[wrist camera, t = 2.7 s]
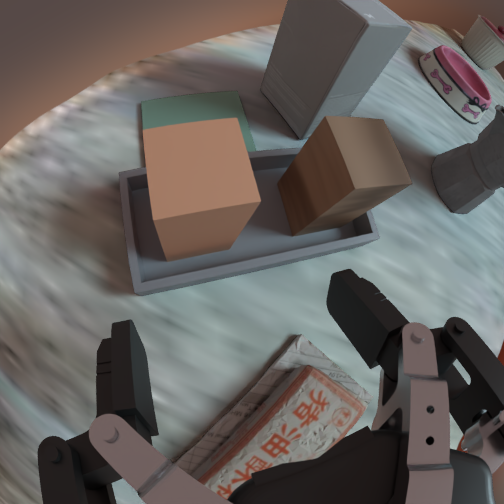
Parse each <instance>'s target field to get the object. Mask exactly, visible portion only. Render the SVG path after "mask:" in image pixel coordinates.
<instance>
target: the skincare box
mask: <svg viewBox="0 0 504 504" xmlns="http://www.w3.org/2000/svg"><path fill="white" fill-rule="evenodd" d="M411 30H412V27H411V26H410V25H409V24H407V23H406V22H405V21H404V20H403V19H401V18H400V17H399V16H398V15H397V14H395V13H394V12H393V11H391V10H390V9H389V8H388V7H386V6H385V5H384V4H382V3H381V2H380V1H378V0H288V2H287V5H286V8H285V11H284V14H283V17H282V20H281V24H280V27H279V30H278V33H277V36H276V39H275V42H274V46H273V49H272V52H271V55H270V59H269V62H268V65H267V69H266V72H265V75H264V79H263V82H262V85H261V88H260V90H261V91H262V92H263V93H264V95H265V96H266V97H267V98H268V99H269V101H270V102H271V103H272V104H273V105H274V107H275V108H276V109H277V110H278V112H279V113H280V114H281V115H282V117H283V118H284V119H285V120H286V122H287V123H288V124H289V125H290V127H291V128H292V129H293V131H294V132H295V133H296V135H297V136H298V137H299V139H300V140H303V139H306V138H308V137H310V136H311V135H312V133H313V132H314V130H315V129H316V128H317V126H318V125H319V124H320V122H321V121H322V119H323V118H324V117H325V116H343V117H349V116H350V115H351V114H352V112H353V111H354V109H355V108H356V107H357V105H358V104H359V102H360V101H361V100H362V98H363V97H364V96H365V94H366V93H367V91H368V90H369V89H370V87H371V86H372V84H373V83H374V82H375V80H376V79H377V77H378V76H379V75H380V73H381V72H382V70H383V69H384V68H385V66H386V65H387V64H388V62H389V61H390V59H391V58H392V57H393V55H394V54H395V52H396V51H397V50H398V48H399V47H400V45H401V44H402V43H403V41H404V40H405V38H406V37H407V36H408V34H409V33H410V31H411Z"/></svg>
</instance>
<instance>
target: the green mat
mask: <svg viewBox="0 0 504 504" xmlns="http://www.w3.org/2000/svg"><path fill="white" fill-rule="evenodd" d="M141 107H142V123H143V130H145V129H150V128H156V127H162V126H168V125H175V124H182V123H189V122H197V121H206V120H215V119H226V118H237V119H238V122H239V125H240V129H241V132H242V136H243V139H244V142H245V146H246V149H247V152H252V151H256V148H255V145H254V142H253V138H252V135H251V132H250V129H249V126H248V122H247V119H246V116H245V113H244V110H243V107H242V104H241V101H240V97H239V94H238V91H225V92H211V93H200V94H190V95H182V96H174V97H167V98H160V99H154V100H148V101H142V102H141Z"/></svg>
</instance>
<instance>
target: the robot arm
mask: <svg viewBox="0 0 504 504" xmlns="http://www.w3.org/2000/svg"><path fill="white" fill-rule="evenodd" d="M327 308H328V311H329V313H330V315H331V316H332V317H333V319H334V320H335V321H336V323H337V324H338V325H339V327H340V328H341V329H342V331H343V332H344V333H345V335H346V336H347V338H348V339H349V340H350V342H351V343H352V344H353V346H354V347H355V348H356V350H357V351H358V353H359V354H360V355H361V357H362V358H363V360H364V361H365V362H366V364H367V365H368V366H369V368H370V369H372V368H374V367H376V366H378V365H380V366H381V367H382V369H381V372H380V386H379V399H378V409H377V413H376V416H375V418H374V421H373V424H372V428H371V430H370V429H369V427H368V426H366V427H364V428H362V429H360V430H359V431H357V432H355V433H353V434H351V435H349V436H347V437H345V438H343V439H341V440H340V441H339V442H338V443H336V444H335V445H334V446H333V447H331V448H330V449H329V450H328V451H326V452H325V453H324V454H322V455H321V456H320V457H318V458H316V459H310V460H304V461H297V462H290V463H282V464H279V465H276V466H273V467H270V468H267V469H264V470H261V471H257V472H254V473H251V479H249V480H247V481H245V482H244V483H243V484H241V485H240V486H239V487H237V488H236V489H235V490H234V491H233V492H232V494H231V495H230V496H229V497H228V499H227V500H226V499H224V498H223V497H221V496H220V495H218V494H216V493H215V492H213V491H212V490H210V489H209V488H207V487H206V486H204V485H203V484H201V483H200V482H198V481H197V480H196V479H194V478H193V477H191V476H190V475H189V474H187V473H186V472H185V471H183V470H182V469H181V468H179V467H178V466H177V465H175V464H174V463H173V462H171V461H170V460H168V459H167V458H166V457H165V456H163V455H162V454H161V453H160V452H159V451H157V450H156V449H155V448H154V447H153V445H152V440H151V436H157V435H159V433H158V428H157V423H156V417H155V412H154V406H153V399H152V393H151V386H150V378H149V371H148V362H147V356H146V352H145V349H144V346H143V343H142V341H141V339H140V337H139V335H138V332H137V330H136V328H135V325H134V323H133V321H132V320H126V321H120V322H115V323H112V329H111V338H107V339H103V340H102V342H101V344H100V346H99V348H98V350H97V370H96V373H97V376H96V398H97V415H96V419H95V420H94V421H93V422H92V424H91V426H90V429H89V430H88V431H87V432H85V433H83V434H81V435H79V436H76V437H74V438H71V439H69V440H67V441H65V440H63V439H62V438H60V437H57V436H50V437H47V438H45V439H44V440H43V441H42V442H41V444H40V445H39V448H38V466H39V476H40V485H41V492H42V498H43V504H116V500H115V496H114V492H113V488H112V484H111V483H113V482H115V481H118V480H120V479H122V478H124V479H125V480H126V481H127V482H128V483H129V484H130V485H131V486H132V487H133V488H134V489H135V490H136V491H137V492H138V495H139V497H140V498H141V499H142V500H143V501H144V502H145V503H146V504H496V503H495V499H494V494H493V484H492V483H493V482H492V474H493V473H494V472H495V471H496V470H497V469H498V468H499V467H500V465H501V464H502V463H503V462H504V366H503V365H502V364H501V362H500V361H499V360H498V359H497V357H496V356H495V355H494V354H493V352H492V351H491V350H490V349H489V347H488V346H487V345H486V344H485V343H484V341H483V340H482V339H481V338H480V337H479V336H478V334H477V333H476V332H475V331H474V330H473V329H472V327H471V326H470V325H469V324H468V323H467V322H466V321H465V320H463V319H461V318H458V317H451V318H449V319H448V320H447V322H446V324H445V325H444V327H441V328H435V329H429V328H427V327H426V326H425V325H423V324H420V323H415V322H414V323H410V322H409V321H408V320H407V319H406V318H405V317H404V316H403V315H402V314H401V313H400V312H399V311H398V310H397V308H396V307H395V306H394V305H393V304H392V303H391V302H390V301H389V300H387V299H386V297H385V296H384V295H383V294H382V293H380V290H379V289H378V288H377V287H376V286H375V285H374V284H373V283H371V282H369V281H368V280H366V279H364V278H359V277H358V276H357V275H356V274H355V272H354V271H352V270H351V269H346V270H343V271H339V272H336V273H333V274H332V276H331V280H330V285H329V290H328V295H327ZM456 359H458V361H459V362H460V363H461V365H462V366H463V367H464V368H465V370H466V371H467V372H468V374H469V375H470V378H471V383H470V385H468V384H467V383H466V381H465V380H464V378H463V377H462V376H461V374H460V373H459V372H458V370H457V369H456V368H455V366H454V365H453V363H454V361H455V360H456ZM449 412H450V414H451V415H452V417H453V418H454V420H455V421H456V423H457V424H458V426H459V428H460V429H461V431H462V432H463V434H464V436H465V438H464V440H463V441H462V443H461V447H462V449H463V450H464V451H468V453H465V452H461V451H457V450H454V449H450V417H449Z"/></svg>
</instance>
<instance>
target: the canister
mask: <svg viewBox="0 0 504 504" xmlns="http://www.w3.org/2000/svg"><path fill="white" fill-rule="evenodd" d="M478 17H479V18H478V19H477V20H476V22H475V23H474V24H473V26H472V27H471V29H470V30H469V31H468V33H467V34H466V36H465V37H464V38H463V40H462V47H463V49H464V50H465V52H466V53H467V54H468V55H469V57H470V58H471V59H472V60H473V61H474V62H475V63H476V64H477V65H478V66H479V67H481V68H482V69H484V70H488V69H490V68H492V67H494V66H495V65H497V64H498V63H500V62H502V61H504V36H503V34H504V27H503V26H501V25H499V26H498V29H497V28H496V27H495V26H494V25H493V24H492V23H491V22H490V21H489V20H488V19H486V18H485V17H483V16H480V15H478Z"/></svg>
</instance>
